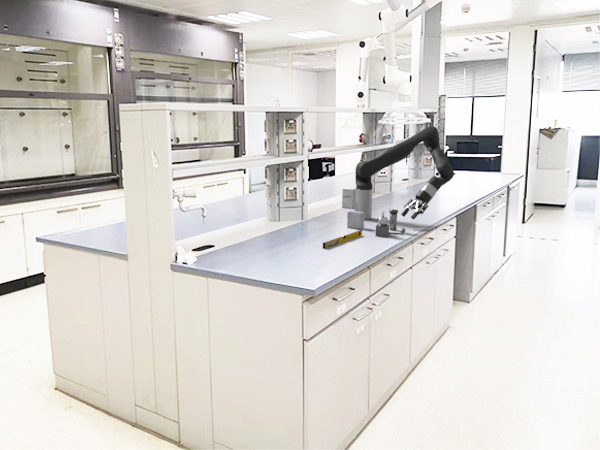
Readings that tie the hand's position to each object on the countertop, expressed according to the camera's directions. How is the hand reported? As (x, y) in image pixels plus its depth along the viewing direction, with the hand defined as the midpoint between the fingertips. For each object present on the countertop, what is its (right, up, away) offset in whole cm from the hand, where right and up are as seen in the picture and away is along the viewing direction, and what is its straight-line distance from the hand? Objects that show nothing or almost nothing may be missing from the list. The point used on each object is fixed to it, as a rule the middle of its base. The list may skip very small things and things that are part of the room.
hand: (407, 216), depth 276 cm
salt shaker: (-8, -7, -2) cm, 11 cm away
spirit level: (-35, -13, -25) cm, 45 cm away
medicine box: (-26, -6, +6) cm, 28 cm away
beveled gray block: (-15, -9, -11) cm, 21 cm away
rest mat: (-8, -7, -2) cm, 11 cm away
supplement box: (-24, +7, +69) cm, 73 cm away
